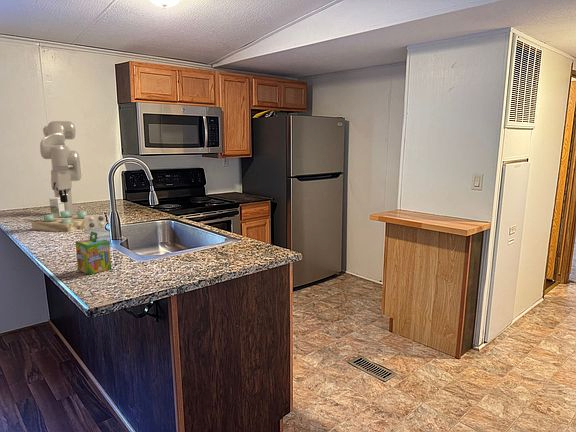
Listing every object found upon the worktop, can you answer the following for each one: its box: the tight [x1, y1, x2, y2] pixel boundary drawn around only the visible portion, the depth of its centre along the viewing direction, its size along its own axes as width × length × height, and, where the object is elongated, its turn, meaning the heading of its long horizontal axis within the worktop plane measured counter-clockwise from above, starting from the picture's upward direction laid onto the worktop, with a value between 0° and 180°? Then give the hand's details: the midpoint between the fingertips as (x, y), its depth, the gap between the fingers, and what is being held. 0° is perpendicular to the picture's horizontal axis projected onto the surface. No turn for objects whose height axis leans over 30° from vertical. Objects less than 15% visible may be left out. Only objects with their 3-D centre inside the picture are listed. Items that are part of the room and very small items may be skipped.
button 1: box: [43, 213, 54, 222], centre depth 230 cm, size 5×5×4 cm
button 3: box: [61, 219, 71, 223], centre depth 227 cm, size 5×5×4 cm
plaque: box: [84, 214, 107, 230], centre depth 230 cm, size 1×12×7 cm, turn 115°
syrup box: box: [48, 196, 65, 217], centre depth 252 cm, size 6×6×14 cm
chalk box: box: [75, 231, 112, 276], centre depth 154 cm, size 9×9×15 cm
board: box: [31, 214, 85, 233], centre depth 235 cm, size 24×24×4 cm
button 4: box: [76, 210, 88, 219], centre depth 238 cm, size 5×5×4 cm
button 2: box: [60, 211, 70, 218], centre depth 241 cm, size 5×5×4 cm
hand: (64, 202), depth 225 cm, fingers closed
